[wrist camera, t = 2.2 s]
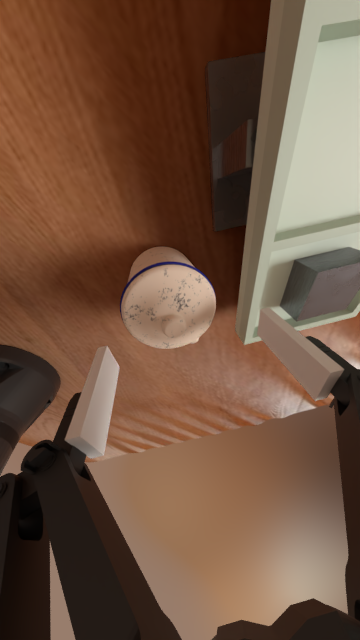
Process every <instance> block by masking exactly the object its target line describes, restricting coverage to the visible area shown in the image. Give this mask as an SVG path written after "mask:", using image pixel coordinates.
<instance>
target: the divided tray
mask: <svg viewBox="0 0 360 640" xmlns="http://www.w3.org/2000/svg"><path fill="white" fill-rule="evenodd" d="M346 247H351V248H354V249H357V250H360V0H271V6H270V16H269V25H268V34H267V43H266V52H265V61H264V70H263V79H262V88H261V98H260V107H259V116H258V125H257V134H256V143H255V152H254V161H253V170H252V180H251V189H250V198H249V207H248V216H247V225H246V234H245V243H244V252H243V262H242V271H241V280H240V289H239V298H238V307H237V316H236V325H235V331H236V333H237V334H238V336H239V337H240V339H241V341H242V342H243V344H244V345H246V344H249V343H253V342H257V341H261V340H262V339H261V338H260V337H259V336H258V334H257V331H258V323H259V315H260V309H264V308H270V309H271V310H273V311H274V312H275V313H276V314H278V315H279V316H280V317H281V318H282V319H284V320H285V321H286V322H287V323H288V324H290V325H291V326H292V327H293V328H295V329H296V330H297V331H300V330H304V329H308V328H312V327H316V326H320V325H324V324H328V323H332V322H336V321H340V320H343V319H347V318H351V317H355V316H356V315H357V314H358V312H359V311H360V289H359V291H358V292H357V294H356V295H355V296H354V298H353V299H352V301H351V302H350V304H349V305H348V307H347V308H346V309H344V310H340V311H336V312H332V313H329V314H325V315H321V316H317V317H313V318H309V319H305V320H301V321H297V322H296V321H295V320H294V319H293V318H292V317H291V316H290V315H289V314H288V313H287V312H286V311H284V310H283V309H282V308H281V307H280V303H281V300H282V297H283V294H284V291H285V288H286V285H287V282H288V278H289V275H290V272H291V269H292V266H293V263H294V260H295V259H299V258H304V257H308V256H312V255H316V254H321V253H325V252H329V251H334V250H338V249H342V248H346Z"/></svg>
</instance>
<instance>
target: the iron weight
mask: <svg viewBox="0 0 360 640" xmlns="http://www.w3.org/2000/svg"><path fill="white" fill-rule="evenodd" d="M359 289H360V250H357V249H354V248H351V247H346V248H342V249H338V250H334V251H329V252H325V253H321V254H316V255H312V256H308V257H304V258H299V259H295V260H294V263H293V266H292V269H291V272H290V275H289V278H288V282H287V285H286V288H285V291H284V294H283V297H282V300H281V303H280V307H281V308H282V309H283V310H284V311H286V312H287V313H288V314H289V315H290V316H291V317H292V318H293V319H294V320H295V321H296V322H297V321H301V320H305V319H309V318H313V317H317V316H321V315H325V314H329V313H332V312H336V311H340V310H344V309H346V308H347V307H348V305H349V304H350V302H351V301H352V299H353V298H354V296H355V295H356V294H357V292H358V291H359Z"/></svg>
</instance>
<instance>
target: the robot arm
mask: <svg viewBox="0 0 360 640" xmlns="http://www.w3.org/2000/svg"><path fill="white" fill-rule="evenodd" d="M257 334H258V336H259V337H260V338H261V339H262V340H263V341H264V343H265V344H266V345H267V346H268V347H269V348H270V349H271V351H272V352H273V353H274V354H275V355H276V356H277V358H278V359H279V360H280V361H281V362H282V363H283V364H284V366H285V367H286V368H287V369H288V370H289V371H290V373H291V374H292V375H293V376H294V377H295V378H296V379H297V381H298V382H299V383H300V384H301V385H302V386H303V388H304V389H305V390H306V391H307V392H308V393H309V394H310V396H311V397H312V398H313V399H314V400H315V401H317V400H321V399H324V398H327V397H328V395H329V394H330V392H331V393H332V394H333V395H334V396H335V397H334V399H333V400H332V402H331V403H330V406H329V407H331V408H332V407H333V405H334V409H335V419H336V429H337V439H338V450H339V459H340V470H341V480H342V490H343V501H344V511H345V521H346V531H347V541H348V554H349V556H348V562H347V565H346V572H345V582H346V594H347V606H348V614H346V613H344V612H342V611H340V610H338V609H336V608H333V607H331V606H329V605H325V604H323V603H321V602H320V601H318V600H316V599H310V600H307V601H303V602H300V603H297V604H293V605H290V606H289V607H288V608H287V609H286V611H285V612H284V613H283V614H282V615H281V616H280V617H279V618H278V619H277V620H276V621H275V622H274V623H273V624H272V625H271V626H265V625H261V624H256V623H252V622H248V621H244V620H240V621H236V622H233V623H230V624H226V625H223V626H220V627H218V629H217V635H216V636H215V637H214V638H213V639H212V640H360V369H356V368H355V367H353V366H352V365H351V364H349V363H348V362H347V361H346V360H344V359H343V358H342V357H340V356H339V355H338V354H336V353H335V352H334V351H332V350H331V349H330V348H329V347H326V345H325V344H323V343H322V342H321V341H320V340H318V339H316V338H313V337H311V336H308V337H304V336H303V335H302V334H301V333H299V332H298V331H297V330H296V329H295V328H293V327H292V326H291V325H290V324H288V323H287V322H286V321H285V320H284V319H282V318H281V317H280V316H279V315H278V314H276V313H275V312H274V311H273V310H271V309H270V308H264V309H260V315H259V323H258V331H257ZM119 368H120V367H119V365H118V364H117V362H116V360H115V358H114V357H113V355H112V353H111V352H110V350H109V348H108V346H103V347H99V348H98V349H97V351H96V354H95V357H94V360H93V363H92V365H91V368H90V371H89V374H88V376H87V379H86V382H85V385H84V387H83V390H82V392H80V393H76V394H75V395H74V396H73V397H72V399H71V400H70V401H69V404H68V406H67V408H66V412H65V413H64V416H63V419H62V421H61V423H60V426H59V428H58V431H57V433H56V435H55V438H54V440H53V442H52V441H50V440H43V441H40V442H39V443H37V444H36V445H34V446H33V447H32V448H31V450H30V451H29V452H28V453H27V454H26V456H25V457H24V459H23V461H22V464H21V471H23V472H21V473H20V474H18V475H15V474H13V473H8V474H5V475H3V476H1V477H0V640H50V549H49V548H50V544H49V543H50V542H51V546H52V550H53V554H54V558H55V562H56V566H57V570H58V573H59V577H60V581H61V585H62V589H63V593H64V597H65V600H66V604H67V608H68V612H69V615H70V620H71V623H72V627H73V631H74V635H75V639H76V640H182V639H181V638H180V636H179V634H178V632H177V630H176V628H175V627H174V625H173V623H172V622H171V621H170V619H169V618H168V617H167V616H166V615H165V614H164V613H163V611H162V610H161V608H160V606H159V605H158V603H157V601H156V599H155V597H154V595H153V593H152V591H151V589H150V587H149V585H148V583H147V581H146V579H145V577H144V575H143V573H142V571H141V570H140V568H139V566H138V564H137V562H136V560H135V558H134V556H133V554H132V552H131V550H130V548H129V546H128V544H127V543H126V540H125V538H124V537H123V535H122V533H121V531H120V529H119V527H118V525H117V523H116V521H115V519H114V517H113V515H112V513H111V511H110V510H109V507H108V505H107V503H106V502H105V500H104V498H103V496H102V494H101V492H100V490H99V488H98V486H97V484H96V482H95V480H94V478H93V476H92V474H91V473H90V471H89V469H88V467H87V465H86V464H85V463H84V462H85V458H86V456H88V457H89V458H91V459H92V458H96V457H99V456H103V455H104V452H105V446H106V441H107V435H108V429H109V424H110V418H111V413H112V407H113V402H114V396H115V390H116V385H117V379H118V374H119ZM59 388H60V377H59V375H58V373H57V371H56V370H55V369H54V368H53V367H52V366H51V365H50V364H49V363H48V362H46V361H45V360H43V359H42V358H40V357H38V356H36V355H34V354H32V353H30V352H27V351H24V350H21V349H18V348H14V347H9V346H4V345H0V475H1V473H2V471H3V469H4V467H5V465H6V463H7V461H8V459H9V458H10V456H11V454H12V452H13V450H14V448H15V446H16V444H17V443H18V441H19V439H20V437H21V436H22V435H23V433H24V432H25V431H26V430H27V429H28V428H29V427H30V426H31V425H32V424H33V423H34V421H35V420H36V419H37V418H38V417H39V416H40V415H41V414H42V413H43V411H44V410H45V409H46V408H47V407H48V406H49V405H50V404H51V403H52V401H53V400H54V398H55V396H56V394H57V392H58V390H59Z"/></svg>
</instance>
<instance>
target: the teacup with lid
mask: <svg viewBox="0 0 360 640" xmlns="http://www.w3.org/2000/svg"><path fill="white" fill-rule="evenodd" d="M215 310H216V296H215V291H214V288H213V286H212V284H211V282H210V281H209V279H208V278H207V277H206V276H205V275H204V274H203V273H202V272H201V271H200V270H198V269H196V268H195V267H194V266H193V265H192V263H191V262H190V261H189V260H188V259H187V258H186V256H185V255H183V254H182V253H181V252H179V251H178V250H176V249H173V248H170V247H162V246H161V247H154V248H150V249H148V250H146V251H144V252H143V253H142V254H140V255H139V256H138V257H137V259H136V260H135V261H134V263H133V265H132V267H131V270H130V275H129V279H128V283H127V285H126V287H125V288H124V291H123V293H122V296H121V301H120V312H121V317H122V320H123V322H124V324H125V326H126V328H127V330H128V331H129V332H130V333H131V334H132V335H133V336H134V337H135V338H136V339H137V340H139V341H140V342H142V343H144V344H146V345H148V346H151V347H155V348H163V349H169V348H177V347H181V346H184V345H187V344H189V343H191V344H193V343H196V342H197V341H198V340H199V337H200V336H201V335H202V334H203V333H204V332H205V331H206V330H207V329H208V327H209V326H210V324H211V322H212V320H213V318H214V314H215Z"/></svg>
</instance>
